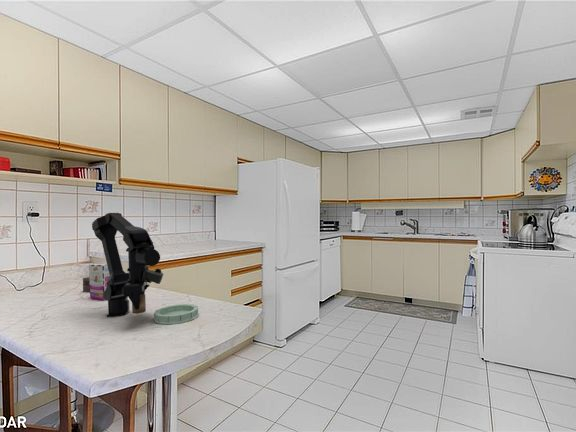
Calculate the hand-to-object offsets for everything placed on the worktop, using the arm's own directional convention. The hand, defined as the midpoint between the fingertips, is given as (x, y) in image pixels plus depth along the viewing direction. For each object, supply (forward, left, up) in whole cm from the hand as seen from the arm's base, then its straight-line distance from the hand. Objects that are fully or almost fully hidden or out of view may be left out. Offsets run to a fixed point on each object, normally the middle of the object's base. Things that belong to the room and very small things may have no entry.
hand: (138, 307), depth 115 cm
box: (-36, +63, -5) cm, 73 cm away
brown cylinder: (0, 0, -2) cm, 2 cm away
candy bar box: (-25, +42, -5) cm, 49 cm away
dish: (+13, -1, -5) cm, 14 cm away
